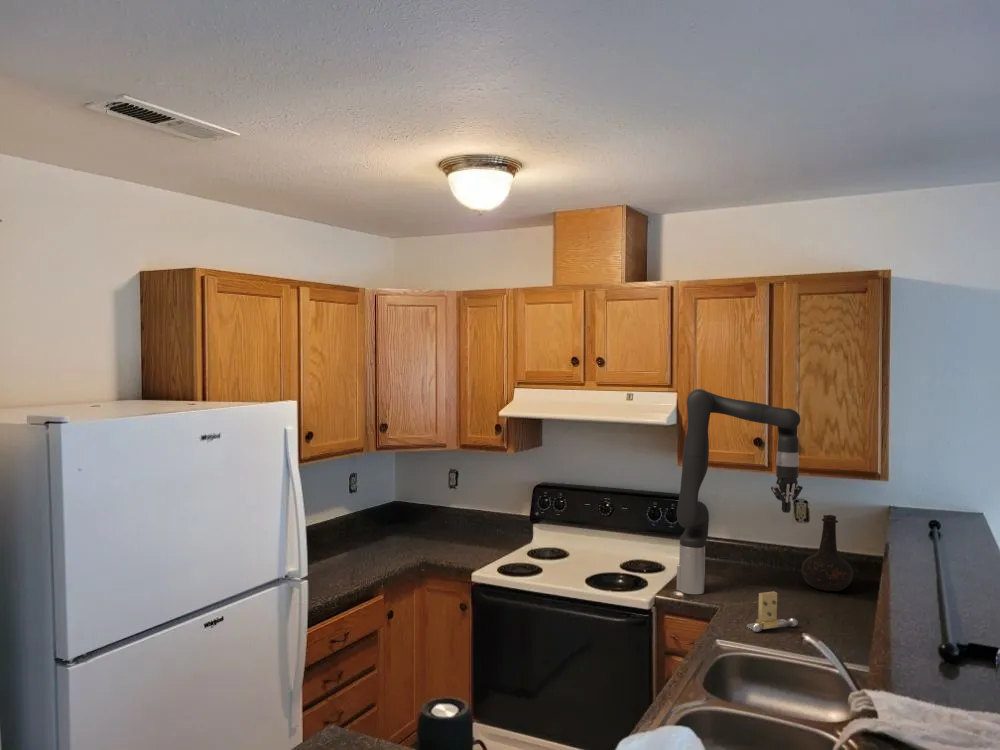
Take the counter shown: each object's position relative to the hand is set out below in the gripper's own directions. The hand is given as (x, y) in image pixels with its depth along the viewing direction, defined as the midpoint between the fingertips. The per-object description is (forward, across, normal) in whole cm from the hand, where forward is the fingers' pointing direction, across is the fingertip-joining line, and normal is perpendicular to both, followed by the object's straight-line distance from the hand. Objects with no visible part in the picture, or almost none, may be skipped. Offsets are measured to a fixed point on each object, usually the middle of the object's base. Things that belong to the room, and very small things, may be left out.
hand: (786, 512), depth 269 cm
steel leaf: (+32, -24, -21) cm, 45 cm away
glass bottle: (+32, +27, +6) cm, 42 cm away
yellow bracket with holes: (+30, -27, -22) cm, 46 cm away
